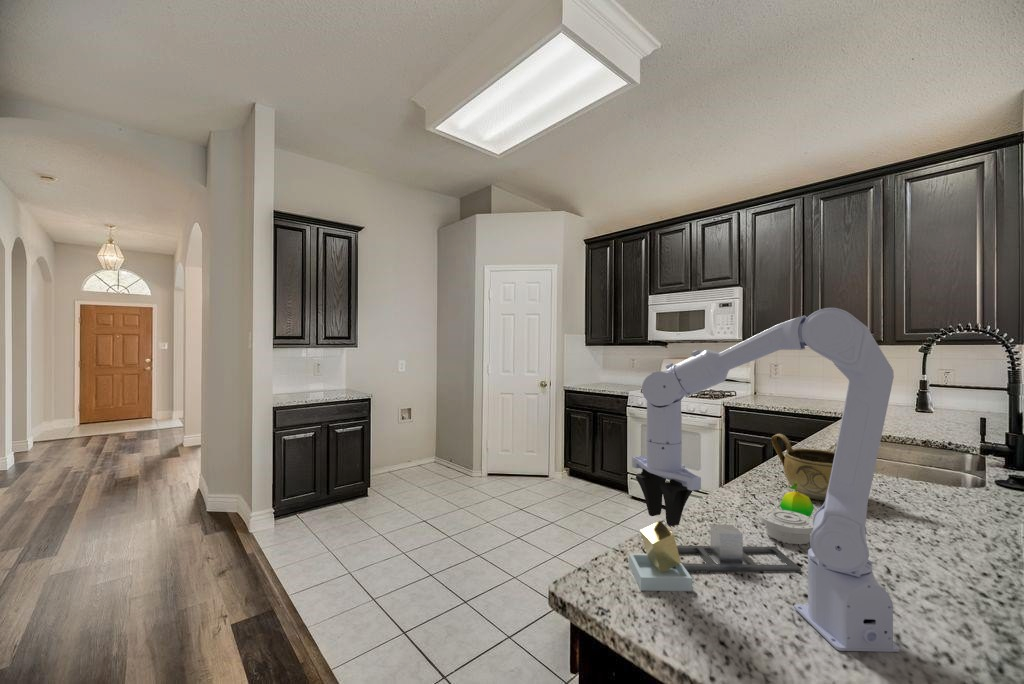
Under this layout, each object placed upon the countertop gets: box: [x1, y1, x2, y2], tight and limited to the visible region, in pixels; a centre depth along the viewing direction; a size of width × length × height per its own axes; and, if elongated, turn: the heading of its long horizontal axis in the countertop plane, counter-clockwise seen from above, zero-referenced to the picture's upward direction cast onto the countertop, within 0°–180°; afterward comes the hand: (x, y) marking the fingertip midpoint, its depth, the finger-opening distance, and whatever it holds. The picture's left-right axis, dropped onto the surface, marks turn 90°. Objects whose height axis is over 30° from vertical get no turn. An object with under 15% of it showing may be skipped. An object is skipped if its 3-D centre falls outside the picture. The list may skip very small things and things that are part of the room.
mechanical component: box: [759, 508, 814, 546], centre depth 91 cm, size 10×4×10 cm
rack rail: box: [672, 544, 802, 573], centre depth 81 cm, size 8×22×1 cm, turn 88°
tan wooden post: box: [640, 520, 682, 573], centre depth 76 cm, size 4×4×6 cm
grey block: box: [709, 523, 744, 564], centre depth 81 cm, size 4×4×6 cm
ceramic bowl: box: [771, 433, 835, 502], centre depth 115 cm, size 22×17×15 cm
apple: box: [779, 481, 815, 518], centre depth 99 cm, size 7×6×9 cm
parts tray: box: [628, 553, 693, 592], centre depth 75 cm, size 8×8×2 cm
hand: (663, 519), depth 76 cm, fingers open, 4 cm apart
